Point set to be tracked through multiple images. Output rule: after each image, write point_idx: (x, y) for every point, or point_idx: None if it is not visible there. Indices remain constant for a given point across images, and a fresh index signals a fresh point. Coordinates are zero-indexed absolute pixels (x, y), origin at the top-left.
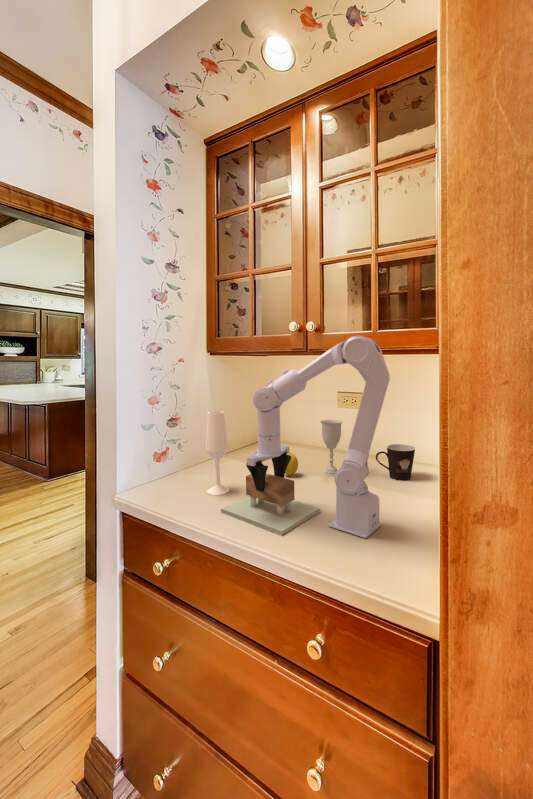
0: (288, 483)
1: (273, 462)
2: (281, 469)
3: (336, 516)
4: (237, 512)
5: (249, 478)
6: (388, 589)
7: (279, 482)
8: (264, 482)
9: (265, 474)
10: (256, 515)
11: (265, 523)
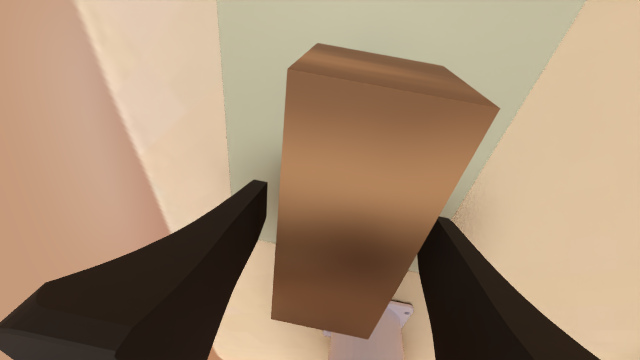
0: (321, 328)
1: (508, 343)
2: (441, 333)
3: None
4: (236, 44)
5: (286, 116)
6: (222, 343)
7: (307, 304)
8: (241, 265)
9: (214, 325)
10: (266, 136)
11: (239, 187)
